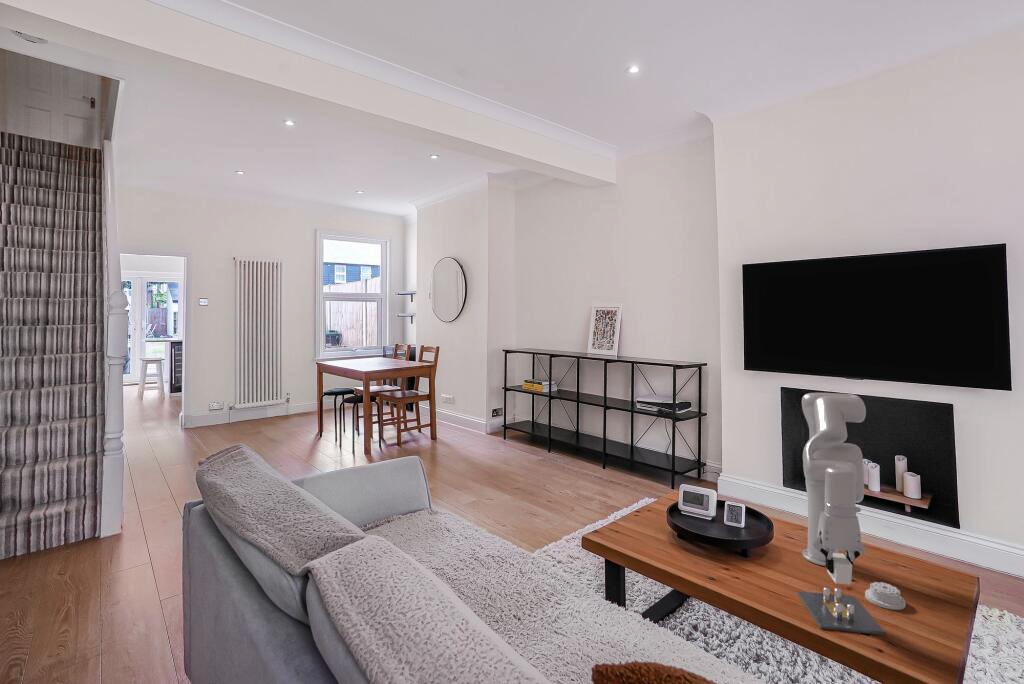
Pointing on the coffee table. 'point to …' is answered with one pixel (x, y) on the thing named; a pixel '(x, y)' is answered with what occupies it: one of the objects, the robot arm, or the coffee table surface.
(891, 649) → the coffee table surface
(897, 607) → the mechanical component
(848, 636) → the coffee table surface
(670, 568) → the coffee table surface
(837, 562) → the jaw block
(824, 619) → the base plate
